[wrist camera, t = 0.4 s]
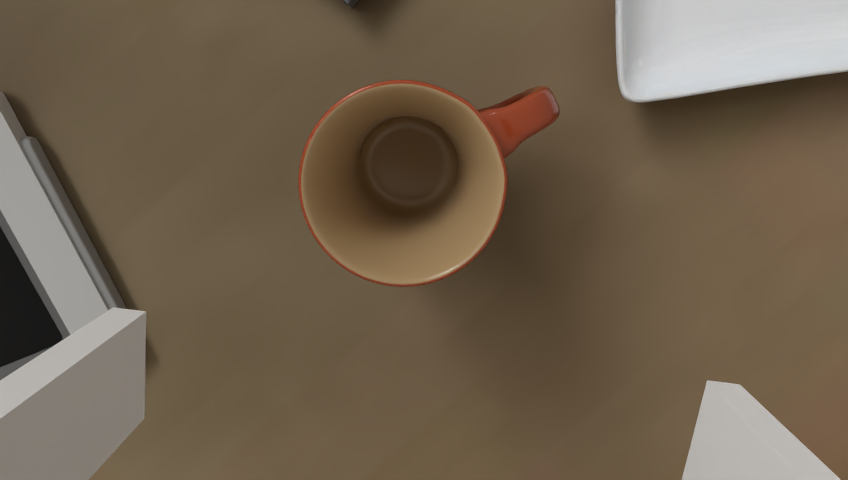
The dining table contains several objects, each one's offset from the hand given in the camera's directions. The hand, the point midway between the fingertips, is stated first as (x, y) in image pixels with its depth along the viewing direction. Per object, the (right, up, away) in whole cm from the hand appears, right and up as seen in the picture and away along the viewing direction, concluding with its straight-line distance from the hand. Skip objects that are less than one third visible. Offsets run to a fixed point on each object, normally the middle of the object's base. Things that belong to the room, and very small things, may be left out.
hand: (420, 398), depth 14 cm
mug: (+1, +9, +21) cm, 23 cm away
